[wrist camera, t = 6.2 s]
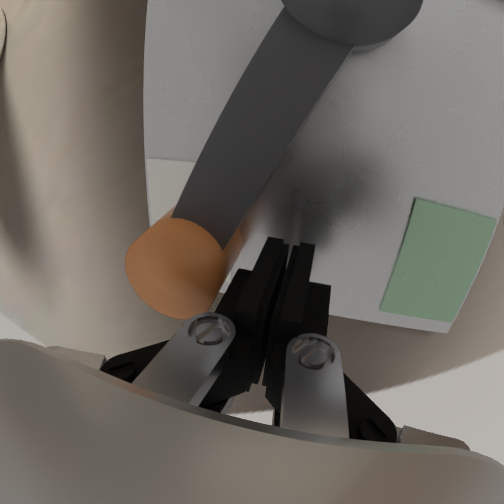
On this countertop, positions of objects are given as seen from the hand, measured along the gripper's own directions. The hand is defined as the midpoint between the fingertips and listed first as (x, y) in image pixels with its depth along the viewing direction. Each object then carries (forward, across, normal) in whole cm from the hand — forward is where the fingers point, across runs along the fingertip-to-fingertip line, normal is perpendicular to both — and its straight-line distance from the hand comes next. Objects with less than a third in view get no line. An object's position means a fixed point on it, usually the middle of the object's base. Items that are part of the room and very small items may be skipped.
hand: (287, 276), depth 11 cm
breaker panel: (+3, -1, -6) cm, 6 cm away
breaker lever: (+1, +1, -5) cm, 5 cm away
